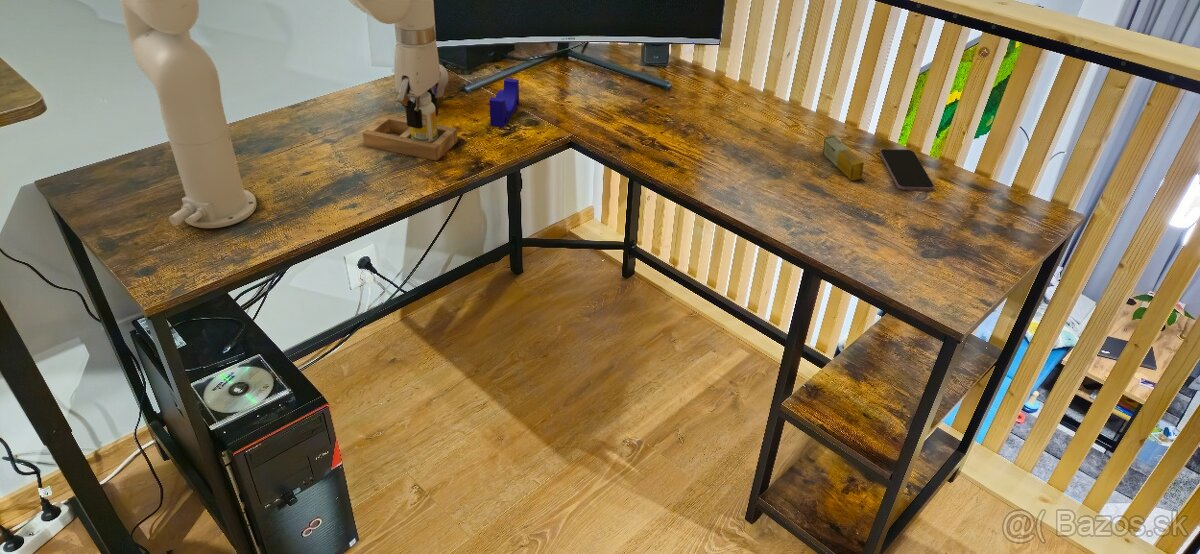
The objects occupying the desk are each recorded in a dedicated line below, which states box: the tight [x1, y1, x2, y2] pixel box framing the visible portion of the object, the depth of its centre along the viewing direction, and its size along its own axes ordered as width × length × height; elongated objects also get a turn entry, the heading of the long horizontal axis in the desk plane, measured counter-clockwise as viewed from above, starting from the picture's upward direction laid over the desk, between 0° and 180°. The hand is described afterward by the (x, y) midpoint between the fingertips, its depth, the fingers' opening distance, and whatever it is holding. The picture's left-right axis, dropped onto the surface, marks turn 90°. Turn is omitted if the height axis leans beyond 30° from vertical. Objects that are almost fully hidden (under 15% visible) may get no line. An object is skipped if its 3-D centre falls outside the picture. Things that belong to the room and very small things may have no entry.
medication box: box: [822, 135, 865, 182], centre depth 172 cm, size 12×3×4 cm, turn 16°
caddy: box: [362, 114, 459, 162], centre depth 174 cm, size 9×17×3 cm, turn 71°
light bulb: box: [436, 63, 449, 108], centre depth 187 cm, size 6×6×10 cm
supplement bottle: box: [410, 91, 438, 143], centre depth 170 cm, size 5×5×10 cm
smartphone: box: [879, 148, 935, 192], centre depth 172 cm, size 7×1×15 cm
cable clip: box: [488, 77, 520, 128], centre depth 186 cm, size 12×4×6 cm, turn 168°
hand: (422, 120), depth 170 cm, fingers closed on supplement bottle, 5 cm apart
